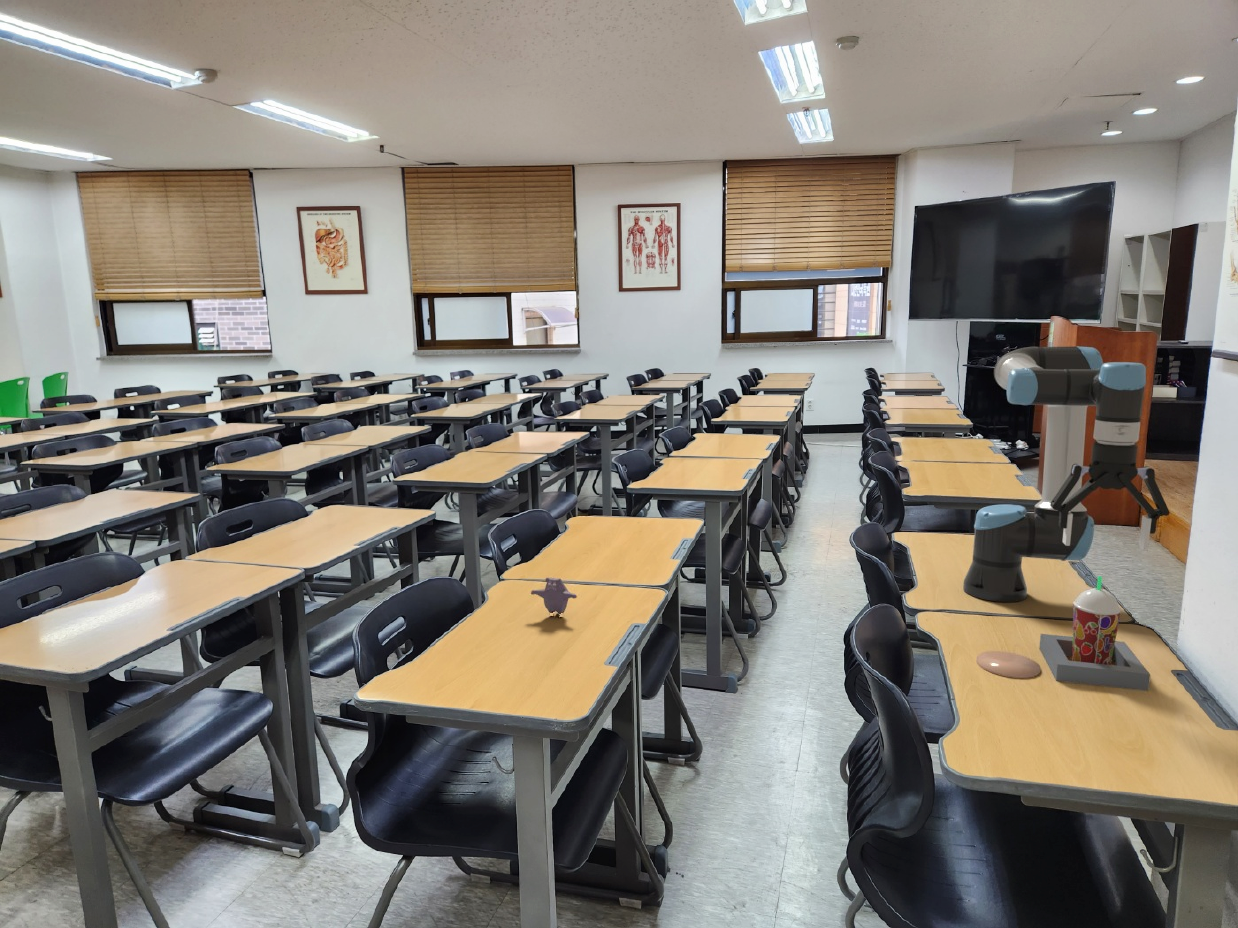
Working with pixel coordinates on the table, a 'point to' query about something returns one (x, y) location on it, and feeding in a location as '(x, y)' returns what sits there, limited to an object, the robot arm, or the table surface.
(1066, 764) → the table surface
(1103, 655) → the smoothie
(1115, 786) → the table surface
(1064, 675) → the holder
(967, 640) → the table surface
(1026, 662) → the pink flat disc
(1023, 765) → the table surface
